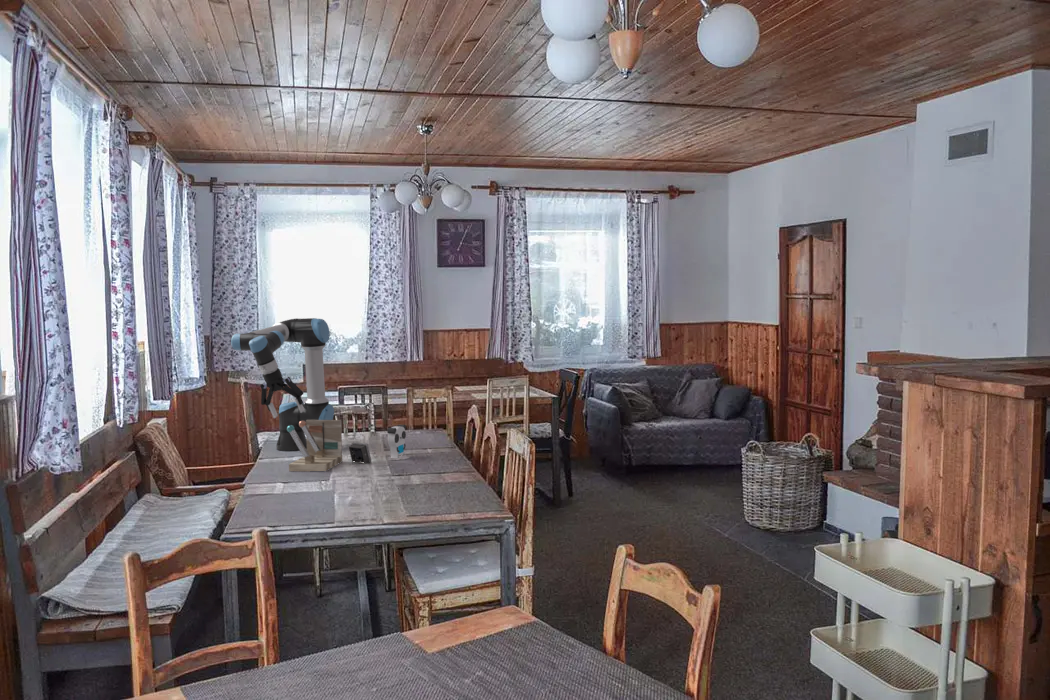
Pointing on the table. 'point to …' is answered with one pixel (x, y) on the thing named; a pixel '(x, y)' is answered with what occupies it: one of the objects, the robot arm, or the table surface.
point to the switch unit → (321, 447)
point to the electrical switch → (359, 452)
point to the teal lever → (297, 441)
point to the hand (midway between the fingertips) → (289, 414)
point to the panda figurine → (396, 440)
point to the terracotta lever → (309, 435)
